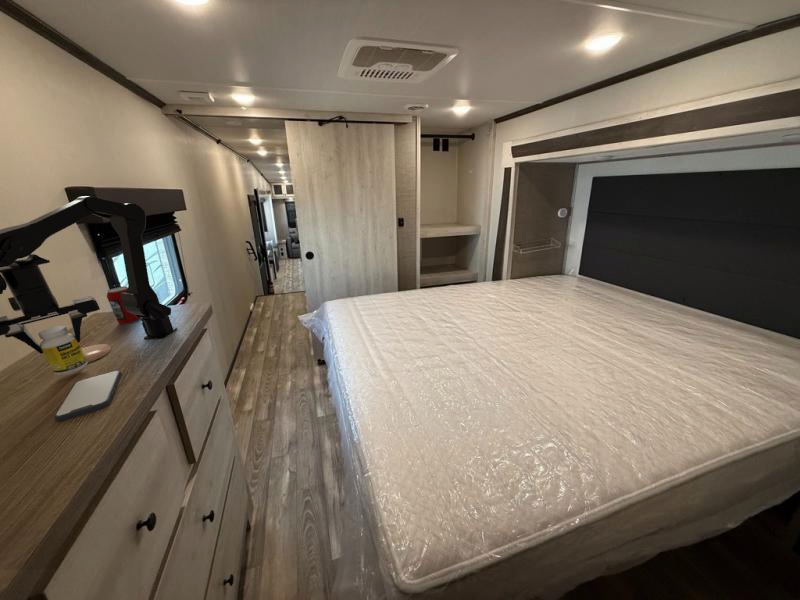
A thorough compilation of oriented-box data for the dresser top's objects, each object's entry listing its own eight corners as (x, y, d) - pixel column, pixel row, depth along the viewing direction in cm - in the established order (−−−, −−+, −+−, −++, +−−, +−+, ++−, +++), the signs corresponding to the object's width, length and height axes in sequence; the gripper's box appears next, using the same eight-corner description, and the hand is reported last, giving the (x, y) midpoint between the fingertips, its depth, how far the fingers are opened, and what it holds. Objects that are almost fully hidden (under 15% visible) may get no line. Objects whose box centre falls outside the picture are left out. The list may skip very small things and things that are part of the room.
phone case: (77, 387, 76) (54, 425, 63) (74, 381, 75) (50, 419, 62) (123, 374, 80) (110, 407, 67) (121, 368, 80) (108, 401, 67)
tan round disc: (121, 345, 94) (120, 343, 93) (86, 366, 83) (85, 363, 83) (85, 347, 94) (84, 345, 94) (46, 368, 84) (45, 365, 83)
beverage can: (117, 321, 111) (103, 290, 107) (140, 315, 116) (128, 284, 111) (120, 327, 107) (105, 294, 102) (144, 320, 111) (131, 288, 107)
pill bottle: (71, 375, 76) (50, 335, 72) (47, 376, 77) (24, 336, 73) (95, 361, 82) (76, 323, 78) (72, 362, 82) (53, 324, 78)
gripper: (80, 271, 83) (104, 324, 89) (-33, 293, 70) (4, 353, 76) (86, 278, 76) (112, 335, 82) (-39, 303, 63) (2, 369, 69)
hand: (61, 347), depth 77 cm, fingers closed on pill bottle, 6 cm apart
